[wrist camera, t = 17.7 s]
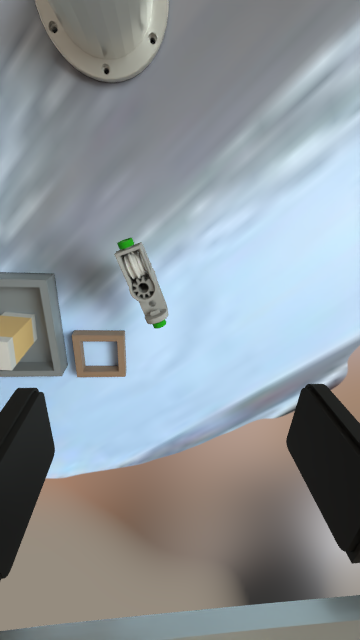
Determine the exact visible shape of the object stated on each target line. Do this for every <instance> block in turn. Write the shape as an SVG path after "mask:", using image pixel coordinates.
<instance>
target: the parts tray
mask: <svg viewBox="0 0 360 640" xmlns="http://www.w3.org/2000/svg"><path fill="white" fill-rule="evenodd" d="M4 312H11V313H23V314H35V321H36V331H37V340H36V341H35V342H34V343H33V345H32V346H31V347H30V348H29V350H28V351H27V352H26V353H25V355H24V356H23V357H22V358H21V360H20V361H19V362H18V363H17V365H16V366H15V367H14V369H13V370H0V377H29V376H62V375H63V373H64V371H65V369H66V367H67V365H68V363H67V356H66V350H65V343H64V336H63V329H62V323H61V316H60V309H59V302H58V296H57V289H56V282H55V275H54V274H45V273H6V272H0V316H1V315H2V314H3V313H4Z"/></svg>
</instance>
